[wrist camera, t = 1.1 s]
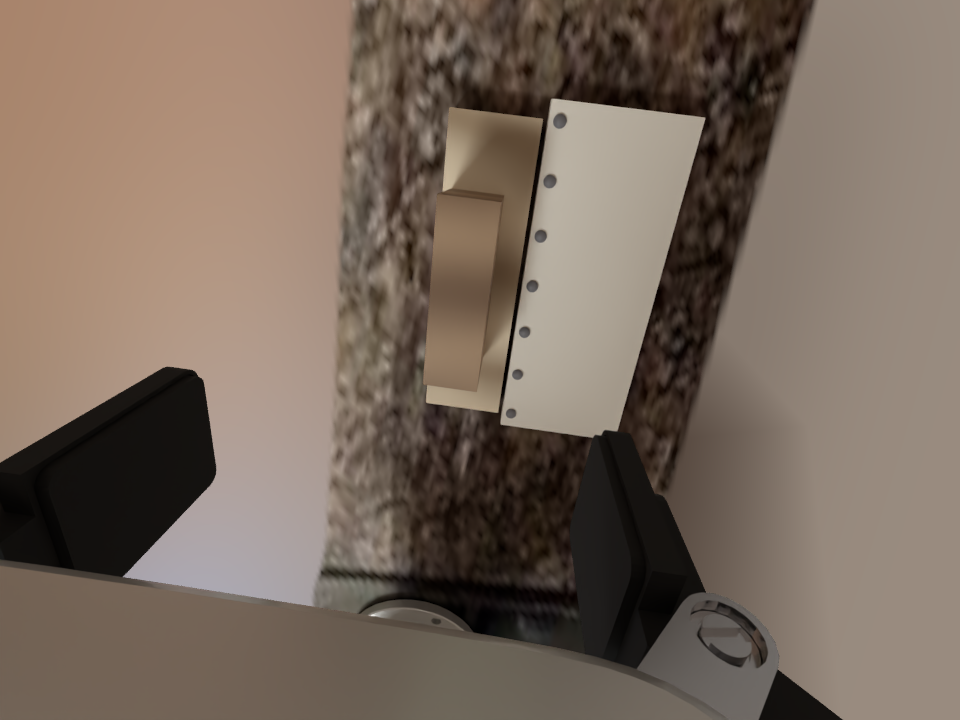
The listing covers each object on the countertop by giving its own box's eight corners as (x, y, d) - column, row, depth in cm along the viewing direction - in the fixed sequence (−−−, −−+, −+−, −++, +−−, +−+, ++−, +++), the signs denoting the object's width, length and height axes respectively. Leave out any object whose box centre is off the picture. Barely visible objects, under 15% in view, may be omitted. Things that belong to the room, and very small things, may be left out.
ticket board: (610, 429, 33) (614, 441, 32) (501, 413, 33) (500, 425, 32) (695, 120, 25) (706, 117, 24) (550, 102, 25) (552, 98, 24)
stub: (498, 402, 33) (494, 455, 27) (429, 392, 33) (410, 443, 27) (541, 121, 25) (548, 108, 19) (453, 109, 26) (433, 94, 20)
